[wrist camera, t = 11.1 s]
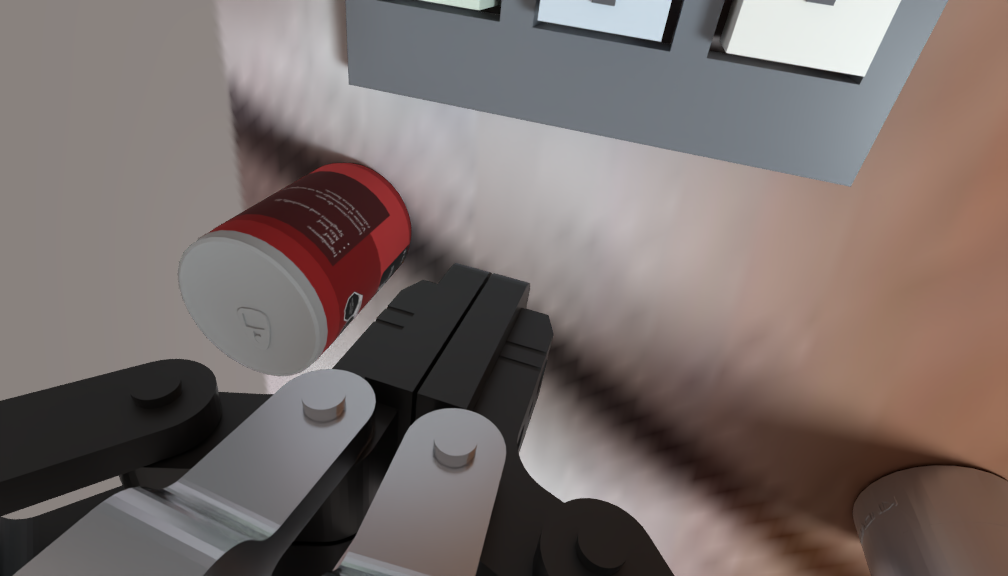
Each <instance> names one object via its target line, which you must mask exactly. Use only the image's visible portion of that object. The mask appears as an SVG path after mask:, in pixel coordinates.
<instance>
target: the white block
mask: <svg viewBox="0 0 1008 576" xmlns="http://www.w3.org/2000/svg"><path fill="white" fill-rule="evenodd" d="M422 1H428V2H434V3H439V4H445V5H451V6H457V7H463V8H468V9H474V10H482V9H486V8H490V7H494V6H497V5H501V4H502V0H422Z"/></svg>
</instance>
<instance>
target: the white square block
mask: <svg viewBox="0 0 1008 576" xmlns="http://www.w3.org/2000/svg"><path fill="white" fill-rule="evenodd" d="M900 2H901V0H733V1H732V4H731V7H730V11H729V14H728V17H727V20H726V23H725V26H724V29H723V32H722V35H721V38H720V43H721V45H722V46H723V48H724V50H725V52H726V53H730V54H736V55H741V56H747V57H753V58H759V59H765V60H770V61H776V62H782V63H788V64H794V65H799V66H805V67H811V68H817V69H823V70H828V71H834V72H840V73H846V74H852V75H857V76H863V77H865V75H866V72H867V70H868V68H869V66H870V64H871V62H872V60H873V58H874V56H875V54H876V52H877V50H878V48H879V45H880V43H881V41H882V39H883V37H884V35H885V33H886V31H887V29H888V27H889V25H890V23H891V20H892V18H893V16H894V14H895V12H896V10H897V8H898V6H899V4H900Z"/></svg>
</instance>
